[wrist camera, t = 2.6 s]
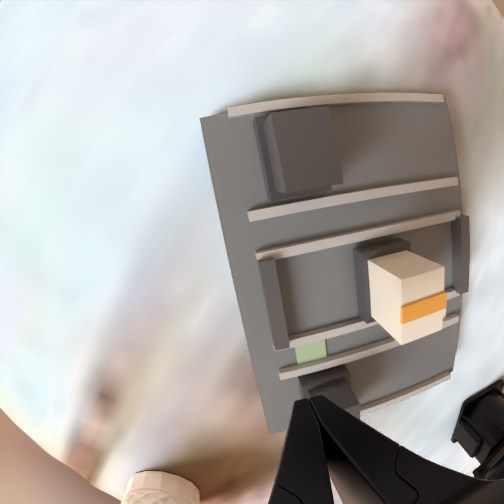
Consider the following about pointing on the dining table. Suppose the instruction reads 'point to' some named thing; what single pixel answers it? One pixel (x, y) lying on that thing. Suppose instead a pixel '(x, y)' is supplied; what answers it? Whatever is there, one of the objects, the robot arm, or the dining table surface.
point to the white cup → (160, 489)
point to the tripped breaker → (399, 289)
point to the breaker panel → (336, 239)
